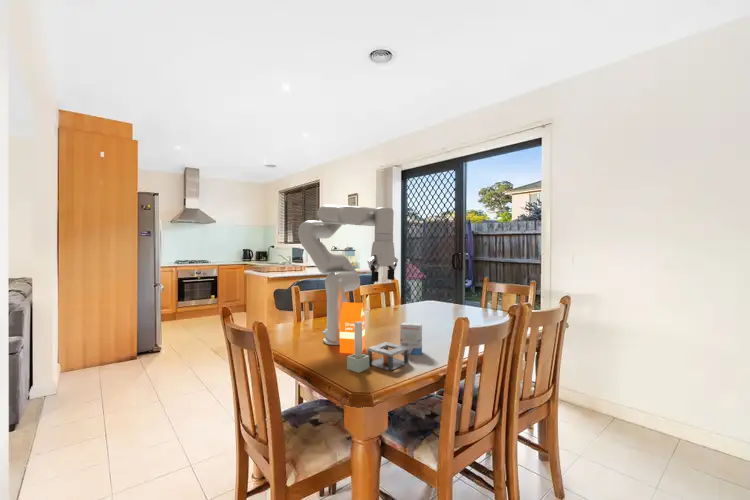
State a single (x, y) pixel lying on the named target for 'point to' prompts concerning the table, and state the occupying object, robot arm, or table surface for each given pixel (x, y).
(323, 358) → the table surface
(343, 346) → the orange juice
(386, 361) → the button
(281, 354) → the table surface
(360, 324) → the grey rod
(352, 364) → the box
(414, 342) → the ink box
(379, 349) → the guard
